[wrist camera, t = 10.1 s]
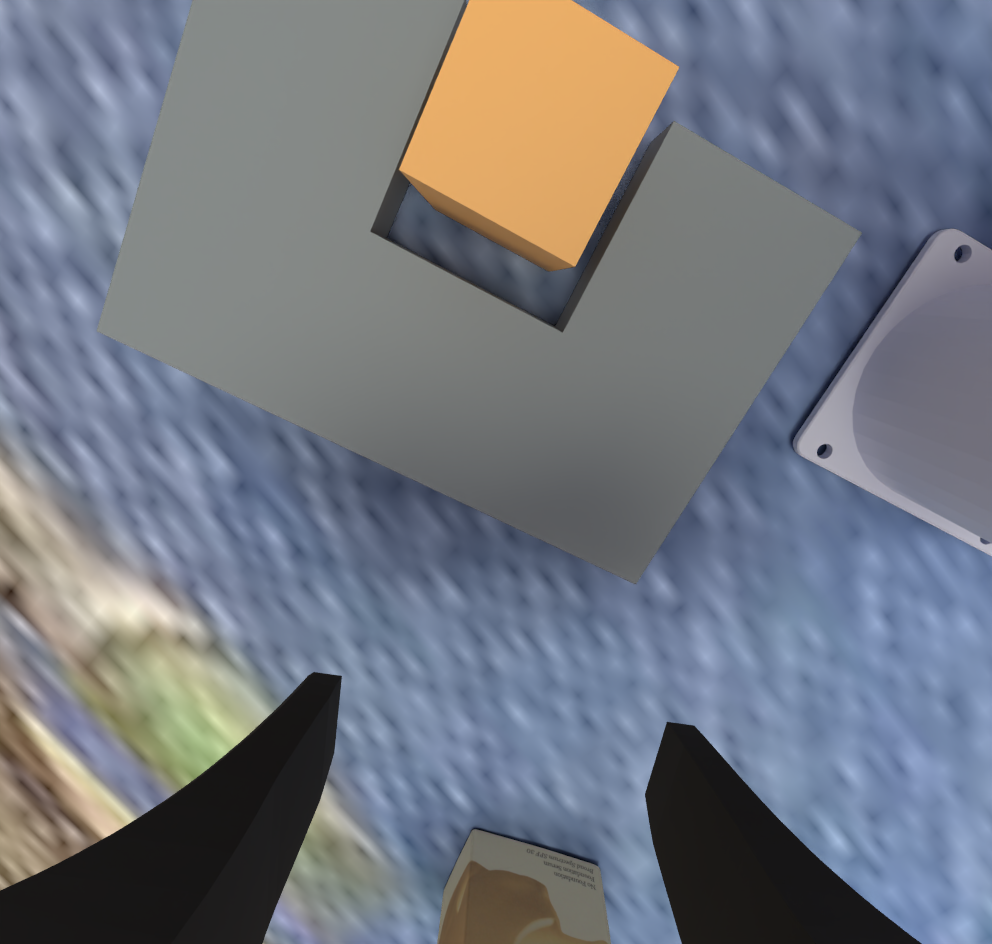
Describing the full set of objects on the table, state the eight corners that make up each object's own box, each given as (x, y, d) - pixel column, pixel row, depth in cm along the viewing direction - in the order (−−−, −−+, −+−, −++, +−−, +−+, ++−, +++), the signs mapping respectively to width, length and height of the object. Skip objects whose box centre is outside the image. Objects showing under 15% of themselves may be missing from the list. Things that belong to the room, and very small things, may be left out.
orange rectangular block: (612, 146, 18) (678, 67, 11) (548, 271, 19) (575, 266, 12) (493, 76, 17) (490, -50, 11) (435, 209, 18) (399, 169, 12)
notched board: (815, 239, 19) (862, 232, 16) (620, 551, 22) (635, 584, 20) (272, -79, 16) (233, -141, 14) (145, 325, 20) (96, 331, 17)
